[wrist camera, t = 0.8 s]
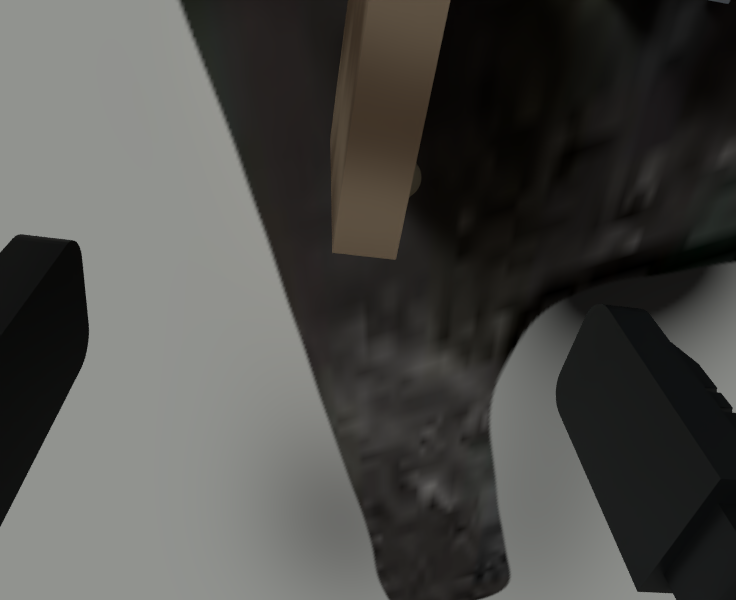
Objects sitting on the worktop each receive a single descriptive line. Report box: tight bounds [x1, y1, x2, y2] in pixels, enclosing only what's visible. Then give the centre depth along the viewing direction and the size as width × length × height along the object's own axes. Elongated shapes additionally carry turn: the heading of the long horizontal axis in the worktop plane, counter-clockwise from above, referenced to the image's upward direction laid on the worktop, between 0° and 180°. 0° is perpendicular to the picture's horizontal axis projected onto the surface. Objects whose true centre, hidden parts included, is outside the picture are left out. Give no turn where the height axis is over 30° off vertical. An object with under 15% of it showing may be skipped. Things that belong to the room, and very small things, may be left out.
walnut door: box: [330, 0, 450, 260], centre depth 20 cm, size 12×3×11 cm, turn 171°
